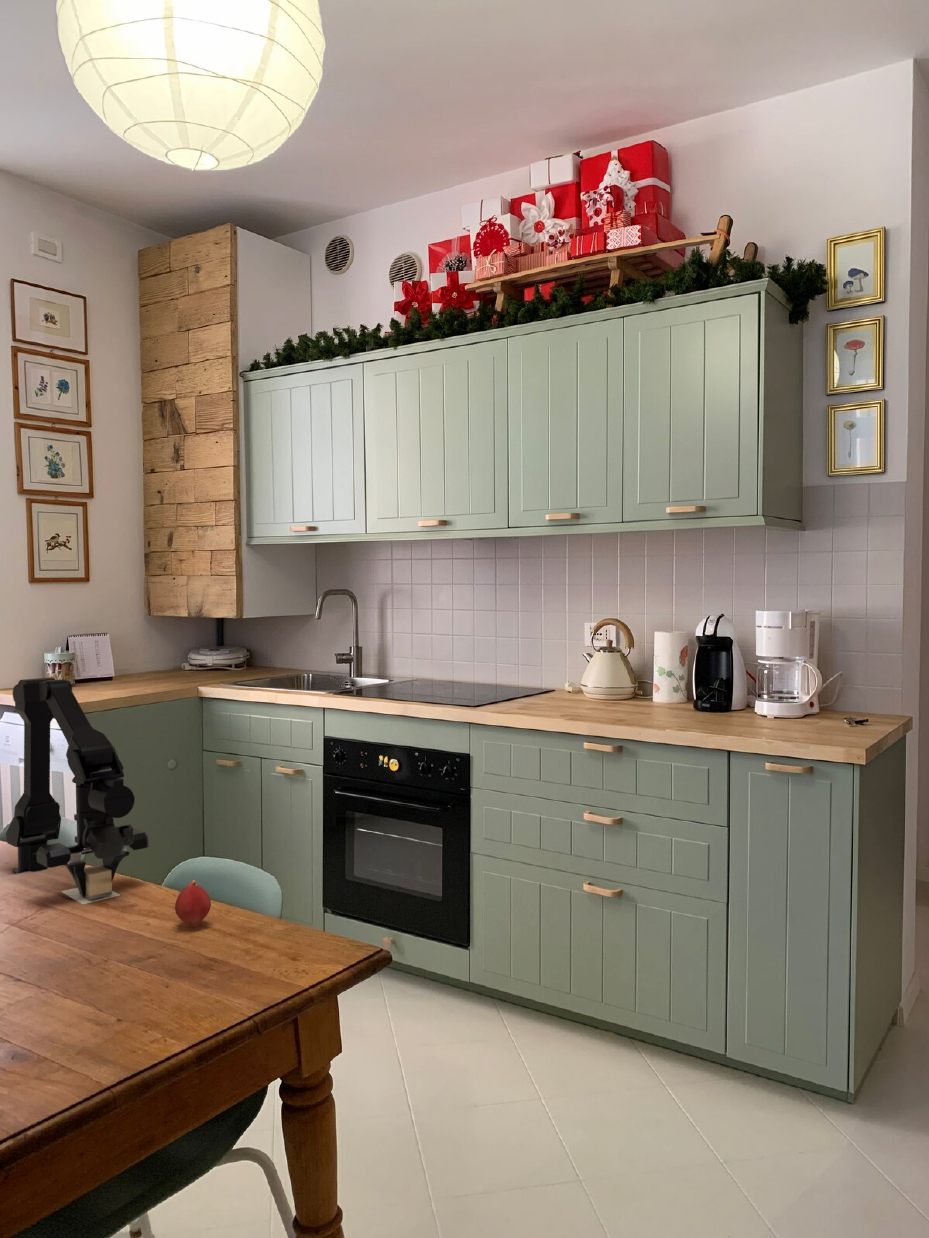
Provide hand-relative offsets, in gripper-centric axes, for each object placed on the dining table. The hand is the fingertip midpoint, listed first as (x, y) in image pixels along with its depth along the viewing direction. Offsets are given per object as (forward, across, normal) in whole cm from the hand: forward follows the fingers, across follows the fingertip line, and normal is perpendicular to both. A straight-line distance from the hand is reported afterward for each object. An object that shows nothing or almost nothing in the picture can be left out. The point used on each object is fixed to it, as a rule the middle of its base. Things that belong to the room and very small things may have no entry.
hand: (95, 893), depth 173 cm
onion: (+2, +6, -25) cm, 26 cm away
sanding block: (0, 0, 0) cm, 0 cm away
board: (+1, 0, +2) cm, 3 cm away
